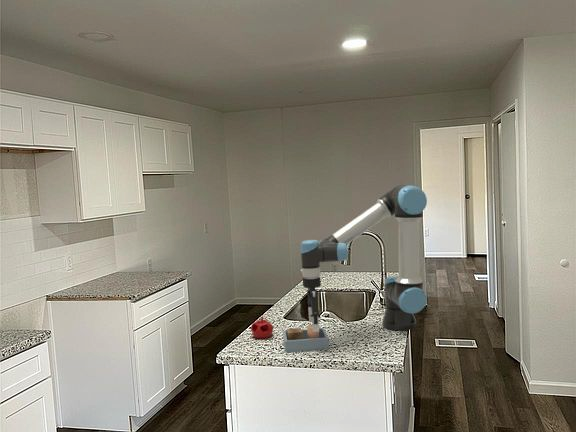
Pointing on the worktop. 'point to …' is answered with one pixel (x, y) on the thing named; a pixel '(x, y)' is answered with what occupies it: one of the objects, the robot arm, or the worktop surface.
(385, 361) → the worktop surface
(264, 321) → the pomegranate
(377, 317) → the worktop surface
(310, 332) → the terracotta cylinder
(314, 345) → the tote
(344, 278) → the worktop surface
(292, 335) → the walnut cube
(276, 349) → the worktop surface
